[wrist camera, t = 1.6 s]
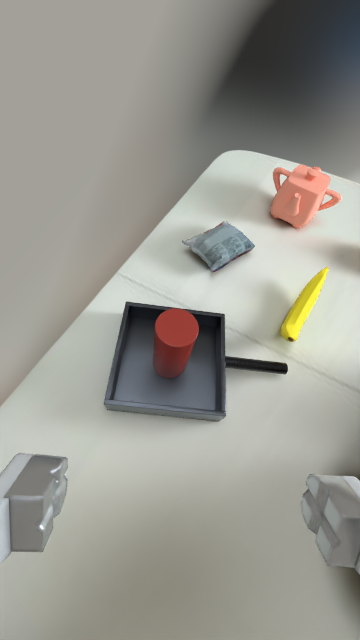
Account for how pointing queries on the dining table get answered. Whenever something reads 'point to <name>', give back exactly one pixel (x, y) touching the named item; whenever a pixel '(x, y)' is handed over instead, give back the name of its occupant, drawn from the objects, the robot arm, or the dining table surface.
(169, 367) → the red cylinder
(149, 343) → the steel pan
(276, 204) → the teapot
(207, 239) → the packaged food
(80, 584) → the dining table surface
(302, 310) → the banana
